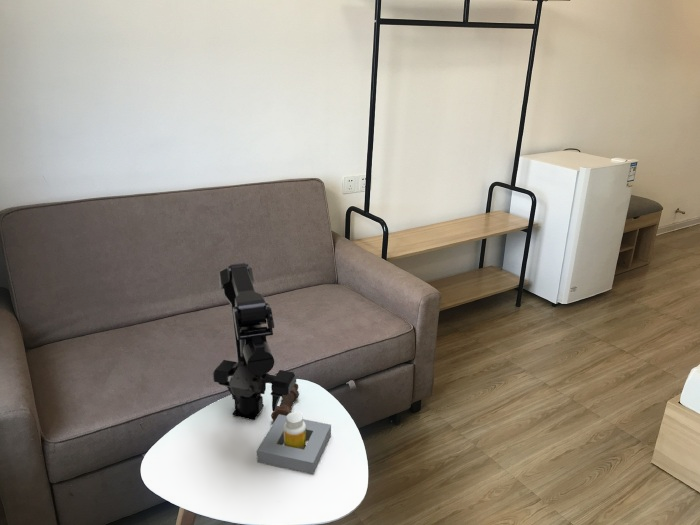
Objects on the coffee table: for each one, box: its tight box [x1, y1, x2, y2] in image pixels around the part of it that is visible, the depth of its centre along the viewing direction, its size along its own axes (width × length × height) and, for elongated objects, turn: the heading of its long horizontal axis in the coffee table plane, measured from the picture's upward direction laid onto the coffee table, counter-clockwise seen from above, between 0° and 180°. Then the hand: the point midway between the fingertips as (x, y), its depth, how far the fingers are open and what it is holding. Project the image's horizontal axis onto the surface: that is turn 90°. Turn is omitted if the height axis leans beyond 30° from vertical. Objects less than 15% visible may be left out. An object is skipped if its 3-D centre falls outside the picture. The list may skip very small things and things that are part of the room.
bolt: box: [270, 382, 300, 422], centre depth 155 cm, size 6×5×15 cm
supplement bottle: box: [283, 411, 307, 450], centre depth 140 cm, size 5×5×10 cm
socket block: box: [256, 414, 332, 476], centre depth 141 cm, size 14×14×4 cm
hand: (256, 406), depth 137 cm, fingers open, 9 cm apart
